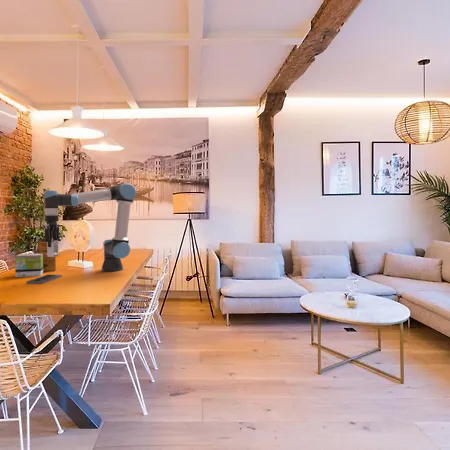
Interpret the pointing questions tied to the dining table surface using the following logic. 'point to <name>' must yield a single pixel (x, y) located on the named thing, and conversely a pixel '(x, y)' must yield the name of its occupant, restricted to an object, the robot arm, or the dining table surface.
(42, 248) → the coffee package
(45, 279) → the grey flat frame
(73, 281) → the dining table surface
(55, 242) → the block with top tab
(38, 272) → the tea box
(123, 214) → the robot arm
